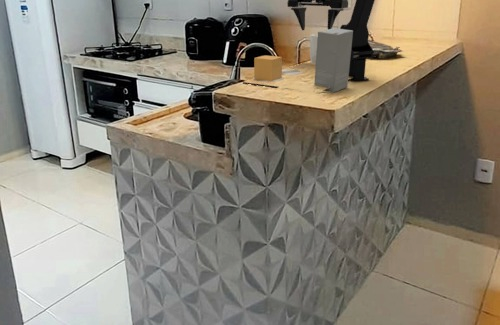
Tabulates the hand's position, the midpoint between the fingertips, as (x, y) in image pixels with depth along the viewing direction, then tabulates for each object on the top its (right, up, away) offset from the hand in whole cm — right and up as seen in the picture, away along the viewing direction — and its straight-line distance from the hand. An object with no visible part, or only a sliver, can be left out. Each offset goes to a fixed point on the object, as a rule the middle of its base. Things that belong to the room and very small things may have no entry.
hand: (316, 31), depth 158 cm
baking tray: (+25, 0, +37) cm, 44 cm away
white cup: (+3, -8, +15) cm, 17 cm away
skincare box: (+1, -22, -23) cm, 32 cm away
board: (-13, -17, -11) cm, 24 cm away
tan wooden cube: (-16, -18, -16) cm, 29 cm away
